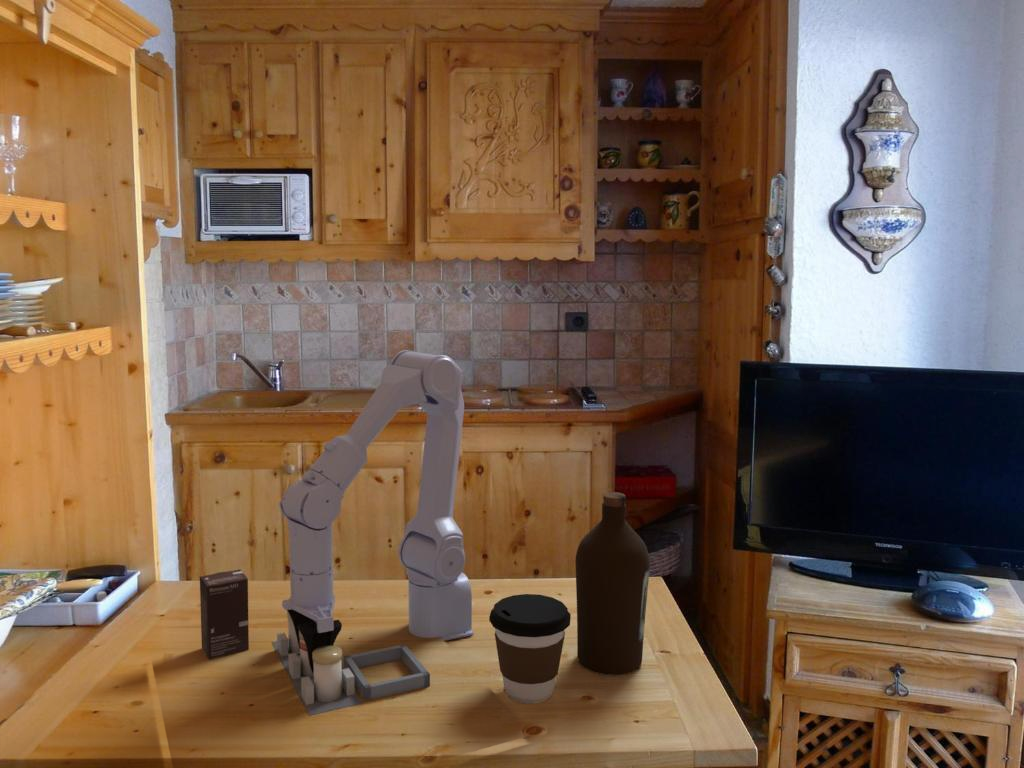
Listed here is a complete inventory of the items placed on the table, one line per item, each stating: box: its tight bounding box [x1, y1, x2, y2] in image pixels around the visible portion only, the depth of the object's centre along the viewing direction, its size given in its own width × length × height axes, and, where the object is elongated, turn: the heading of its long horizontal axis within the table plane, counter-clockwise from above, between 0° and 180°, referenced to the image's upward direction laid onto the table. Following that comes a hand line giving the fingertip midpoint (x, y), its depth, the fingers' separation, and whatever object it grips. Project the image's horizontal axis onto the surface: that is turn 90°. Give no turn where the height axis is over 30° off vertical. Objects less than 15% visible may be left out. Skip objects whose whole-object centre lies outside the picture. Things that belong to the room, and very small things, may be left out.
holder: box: [271, 631, 364, 717], centre depth 121 cm, size 7×23×3 cm, turn 27°
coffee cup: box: [488, 593, 572, 705], centre depth 116 cm, size 11×11×12 cm
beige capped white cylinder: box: [286, 610, 300, 654], centre depth 127 cm, size 4×4×6 cm
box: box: [199, 568, 250, 661], centre depth 126 cm, size 6×4×12 cm
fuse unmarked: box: [312, 645, 343, 702], centre depth 114 cm, size 4×4×6 cm
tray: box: [343, 643, 431, 702], centre depth 119 cm, size 9×10×2 cm
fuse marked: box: [299, 631, 314, 677], centre depth 121 cm, size 4×4×6 cm
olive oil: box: [575, 491, 651, 676], centre depth 125 cm, size 11×11×25 cm
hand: (313, 661), depth 121 cm, fingers open, 6 cm apart
